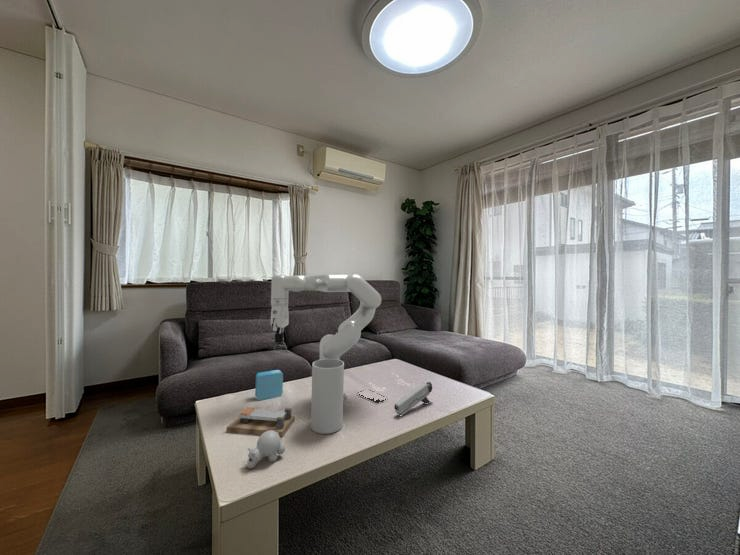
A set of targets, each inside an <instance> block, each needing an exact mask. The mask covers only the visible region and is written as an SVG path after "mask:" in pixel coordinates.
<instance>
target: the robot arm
mask: <svg viewBox="0 0 740 555" xmlns="http://www.w3.org/2000/svg"><path fill="white" fill-rule="evenodd" d="M301 291H315V292H323V293H346V292H348V293H351V294H353V295H354V296H355V297H356V298H357V299H358V300H359V302H360V303H359V307H358V308H357V310H356V311H355V312H354V313H353V314H352V315H351V316H349V317H348V318H347V319H346V320H344V321H343V322H341V324H339V326H338V328H337V332H336V333H335V334H329V333H328V334H326V335H324V336H323V337H321V339H320V341H319V360H321V359H337V360H341V359H340V358H341V357H342V356H343V355H344V354H345V353H347V352H348V351H349V350H351V348H353V347H354V346H355V345H356V344H357V343H358V341H359V340H360V338H361V335H362V332H361V331H362V330H363V329H364V328H365V327H367V326H368V325H369V324H370V323H371V321H372V320H373V319H374V316H375V313H376V310H377V308H379V307H380V305H381V304H382V296H381V294H380V293H379V292H378V291H377V290H376V289H375V288H374V287H373V286H372V285H371V284H369V282H367V280H365V279H364V278H363V277H362V276H361V275H359V274H346V273H345V274H339V273H338V274H335V273H334V274H329V273H328V274H326V273H325V274H317V275H303V274H302V275H297V274H296V275H278V274H276V275H272V277H271V292H270V293H271V294H270V297H271V298H270V299H271V300H270V306H271V309H270V310H271V311H270V327H271V328H272V332H274V343H277V344H278V343H284V330H285V328H286V327H287V326H288V325H289V324H290V323H289V322H290V319H289V318H290V316H289V315H290V314H289V293H290V292H301ZM348 398H349V397H348V395H347V393H344V392H343V401H344V400H348Z"/></svg>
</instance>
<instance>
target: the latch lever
mask: <svg viewBox="0 0 740 555" xmlns="http://www.w3.org/2000/svg"><path fill="white" fill-rule="evenodd" d="M239 416H240V418H245V419H258V420H270V421H277V417H284V418H285V417H286V416H287V412H285V411H279V410H278V411H276V410H266V409H265V410H264V409H255V407H253V406H247V407H245V408H244V409H243V410H242V411H241V412H240V413H239Z"/></svg>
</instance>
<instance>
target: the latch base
mask: <svg viewBox="0 0 740 555" xmlns="http://www.w3.org/2000/svg"><path fill="white" fill-rule="evenodd" d="M292 410H293V409H292V408H288V407H285V408H284V412H287V416H286V417H285V418H284V417H277V421H270V420H258V419H245V418H240V415H239V416H238V417H236V418H235V419H234V420H233V421H232V422H230V423H229V424H227V426H226V428H225V429H226V433H229V432H230V433H232V434H240V433H241V434H243V435H251V434H252V435H254V436H261V435H262V434H263V433H264V432H266V431H270V430H272V431H275V432H278V433H279V436H280V438H283V437H284V436H285V434H286V433H287V432H288V431H289V429H290V428H291V427H292V425H293V424H294V423H295V421H296V416H295V415H292ZM241 434H240V435H241Z"/></svg>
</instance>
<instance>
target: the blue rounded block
mask: <svg viewBox="0 0 740 555" xmlns="http://www.w3.org/2000/svg"><path fill="white" fill-rule="evenodd" d="M283 383H284V374H283V372H282V371H281V370H280V369H275V370H268V371H261V372H257V373H256V375H255V392H254V394H255V395H254V396H255V397H256V400H258V401H262V400H264V401H265V400H268V399H274V398H278V397H281V396H282V395H283V392H284V390H283V389H284V388H283V387H284V386H283V385H284V384H283Z"/></svg>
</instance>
